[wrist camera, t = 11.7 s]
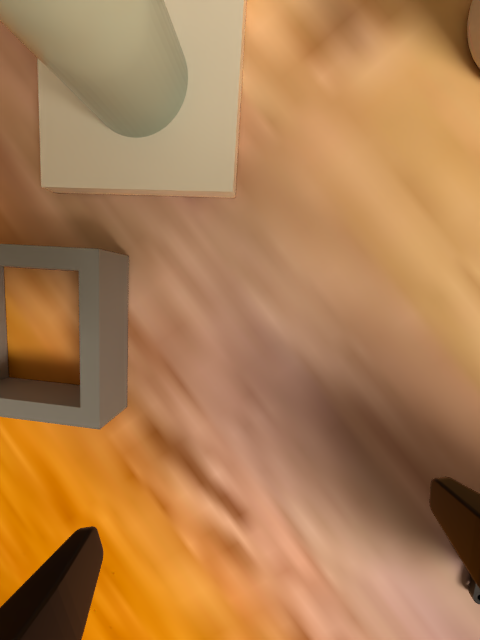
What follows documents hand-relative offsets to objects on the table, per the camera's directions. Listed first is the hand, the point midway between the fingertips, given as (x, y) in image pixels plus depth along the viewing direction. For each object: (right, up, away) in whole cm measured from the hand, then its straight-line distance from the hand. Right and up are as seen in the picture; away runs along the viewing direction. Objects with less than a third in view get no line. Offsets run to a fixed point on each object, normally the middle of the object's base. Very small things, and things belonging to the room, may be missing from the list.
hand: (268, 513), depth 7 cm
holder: (-13, +5, +11) cm, 18 cm away
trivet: (-7, +19, +9) cm, 22 cm away
